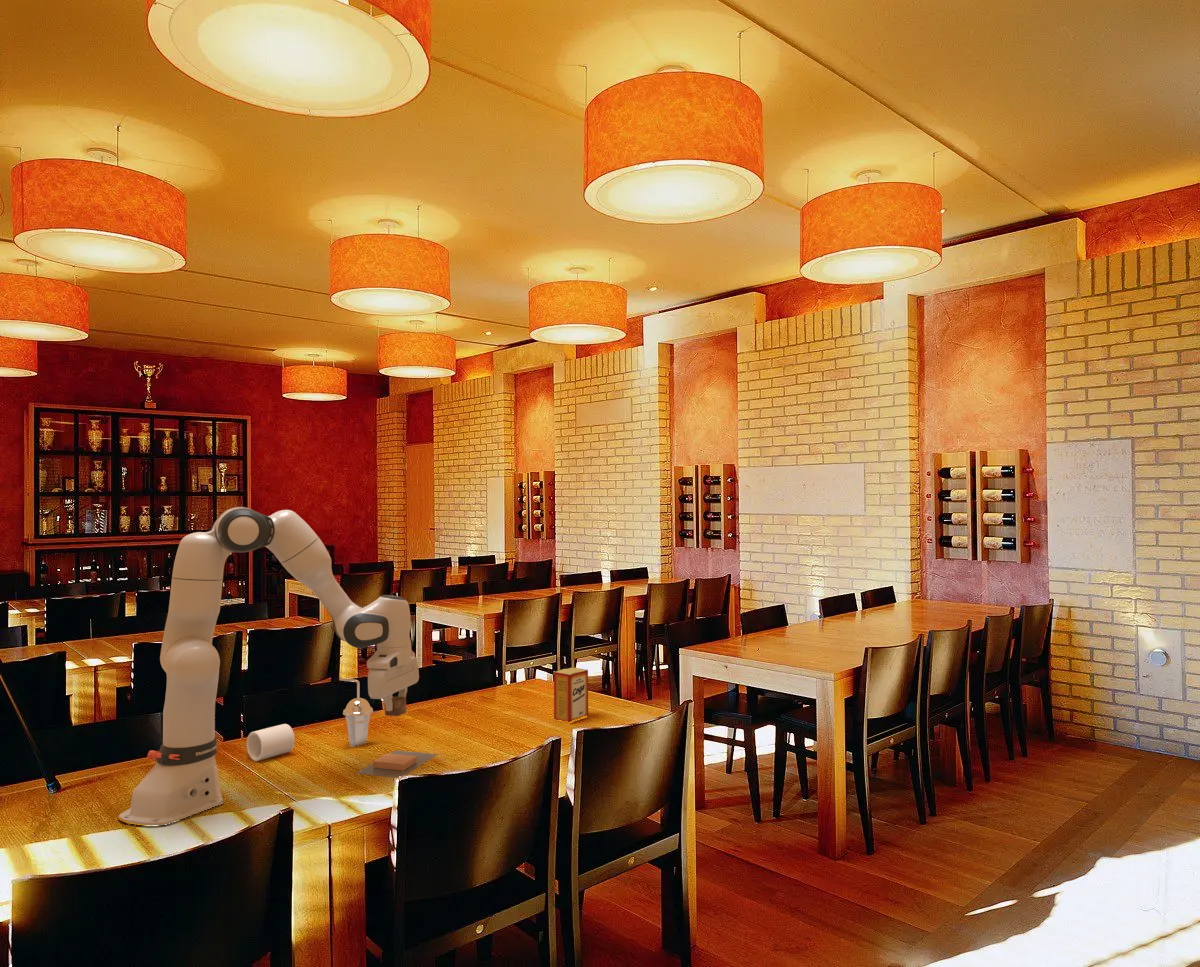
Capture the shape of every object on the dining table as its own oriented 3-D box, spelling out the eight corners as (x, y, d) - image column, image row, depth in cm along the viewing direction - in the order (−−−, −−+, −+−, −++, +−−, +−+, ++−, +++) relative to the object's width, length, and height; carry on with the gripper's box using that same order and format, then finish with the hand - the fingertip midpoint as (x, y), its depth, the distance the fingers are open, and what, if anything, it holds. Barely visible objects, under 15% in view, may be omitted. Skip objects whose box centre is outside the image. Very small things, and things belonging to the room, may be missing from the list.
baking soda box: (572, 714, 270) (572, 666, 271) (588, 717, 266) (587, 668, 267) (554, 720, 263) (553, 671, 263) (569, 724, 259) (569, 673, 259)
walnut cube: (398, 716, 215) (398, 700, 215) (385, 715, 216) (384, 700, 216) (406, 712, 219) (405, 697, 219) (392, 711, 220) (392, 696, 220)
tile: (403, 764, 212) (416, 756, 219) (373, 761, 215) (387, 753, 221) (403, 770, 212) (416, 762, 219) (373, 767, 215) (387, 759, 221)
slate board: (400, 781, 207) (400, 777, 207) (355, 776, 211) (355, 773, 211) (437, 757, 226) (437, 754, 226) (396, 753, 230) (396, 750, 230)
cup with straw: (364, 751, 232) (364, 680, 232) (335, 749, 233) (335, 679, 234) (378, 742, 240) (378, 674, 240) (350, 740, 242) (350, 673, 242)
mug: (295, 754, 229) (295, 726, 230) (262, 763, 221) (262, 734, 221) (270, 747, 236) (270, 719, 237) (238, 755, 228) (238, 727, 229)
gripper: (403, 647, 228) (404, 697, 228) (362, 663, 209) (363, 717, 208) (424, 648, 226) (425, 698, 226) (384, 664, 207) (385, 718, 207)
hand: (395, 707), depth 217 cm, fingers closed on walnut cube, 4 cm apart
